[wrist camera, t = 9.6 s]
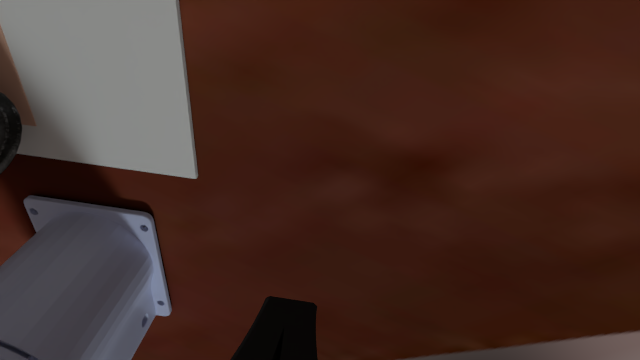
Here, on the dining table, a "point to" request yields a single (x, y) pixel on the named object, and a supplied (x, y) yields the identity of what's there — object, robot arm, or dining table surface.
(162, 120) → the mat
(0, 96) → the dark grey chess piece
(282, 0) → the dining table surface
